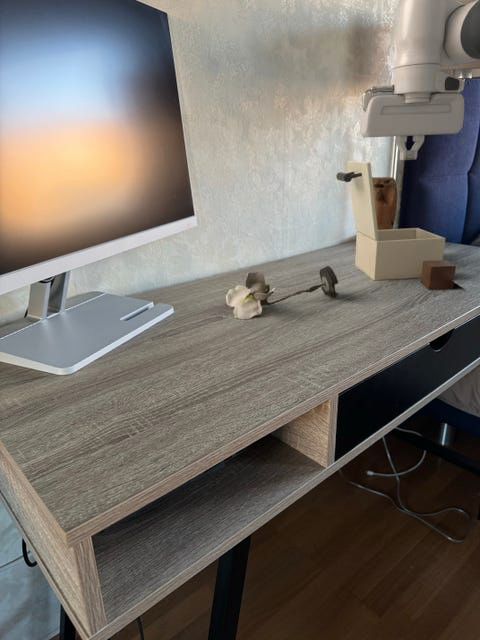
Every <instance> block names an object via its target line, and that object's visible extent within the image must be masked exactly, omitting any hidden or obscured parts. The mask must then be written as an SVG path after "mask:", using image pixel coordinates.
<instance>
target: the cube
mask: <svg viewBox="0 0 480 640" xmlns="http://www.w3.org/2000/svg"><path fill="white" fill-rule="evenodd" d="M456 268H457V265H455V264H454V263H452V262H450V261H449V260H448V259H447V260H446V259H443V260H436V261H423V267H422V276H421V278H420V284H421V285H422V286H424V287H425V288H426V289H427V290H429V291H431V290H439V291H440V290H453V289H454V285H455V277H456Z"/></svg>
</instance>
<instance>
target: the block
mask: <svg viewBox="0 0 480 640" xmlns="http://www.w3.org/2000/svg"><path fill="white" fill-rule="evenodd" d="M372 181H373V191H374V200H375V210H376V219H377V228H378V230H390V229H394V224H395V222H396V215H397V209H398V188H397V187H398V186H397V182H396V181H397V180H396V179H395V178H394V177H393V176H392V177H391V176H378V177H376V176H375V177H373V176H372Z"/></svg>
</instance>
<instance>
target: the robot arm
mask: <svg viewBox="0 0 480 640" xmlns="http://www.w3.org/2000/svg"><path fill="white" fill-rule="evenodd" d="M395 23H396V24H395V30H394V42H393V46H394V53H395V57H394V60H393V61H394V62H393V64H392V69H391V72H392V73H391V82H390V85H384V86H383V85H382V86H378V85H374V86H370V88H369V89H367V90H365V91H364V93H363V95H362V98H361V100H362V101H361V106H362V110H363V111H362V115H361V118H360V119H361V121H360V128H359V133H360V135H361V137H362V138H385V137H389V138H390V137H395V144H396V147H397V148H398V151H399V161H411V160H412V161H413V160H417V158H418V152H419V149H420V148H421V147H422V145H423V144H424V142H425V136H432V135H433V136H434V135H455V134H458V133H459V132H460V131H461V130H462V128H463V125H464V119H465V98H464V96H463V95H462V94H461V92H463V90H464V89H465V83H466V82H465V80H464V79H462V78H460V77H457V76H454V75H451V74H449V73H446V72H444V71H442V70H441V69H442V67H449V68H450V67H457V66H460V65H461V66H462V65H466V64H469V63H473V62H477V61H480V0H473V1H471V2H469V3H467V4H466V3H463V2H462V1H459V0H401V1H400V3H399V6H398V10H397V15H396V22H395ZM410 136H412V142H414V143H413V145H412V146H411V149H410V150H408V149H407V147H406V145H405V143H406V142H408V141H407V140H408V137H410Z"/></svg>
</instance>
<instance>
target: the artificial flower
mask: <svg viewBox="0 0 480 640" xmlns="http://www.w3.org/2000/svg"><path fill="white" fill-rule="evenodd" d="M318 274H319V278H320V282H321V284H317V285H313V286H310V287H309V288H307V289H302V290H298V291H296V292H295V293H292V294H289V295H286V296H283V297H282V298H280V299H278V300H277V299H276V300H275V301H272V302H271V301H270V302H268V299H269V298H270V297H271V296H272V295H273V294H274V291H275V290H276V287H273V288H272V289H271V288H270V284H267V283H266V279H265V275H264V273H263V272H261V271H255V272H248V273H247V274H246V276H245V277H246V278H245V280H244V284H237V285H236V287H235V288H230V289H228V292H227V294H226V295H225V301H226V305H227V306H229V307H231V308H232V307H233V308H234V309H233V311H232V312H233V315H234V318H235V319H239V320H249V319H252V318H253V317H256V316H260V315H262V312H263V307H264V306H271V305H275V304H276V303H280V302H282V301H285V300H287V299H289V298H291V297H293V296H294V297H295V296H297V295H300V294H302V293H312V292H315V291H316V290H319V288H321V291H322V293H323V294H324V295H325V296H328V297H329V298H331V299H336V298H338V297H339V292H337V291H336V285H338V284H339V279H338V278H337V275H336V273H335V271H334V269H333V268H332V267H331V266H329V265H326V266H324V267H323V268H321V269H319V272H318Z"/></svg>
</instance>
